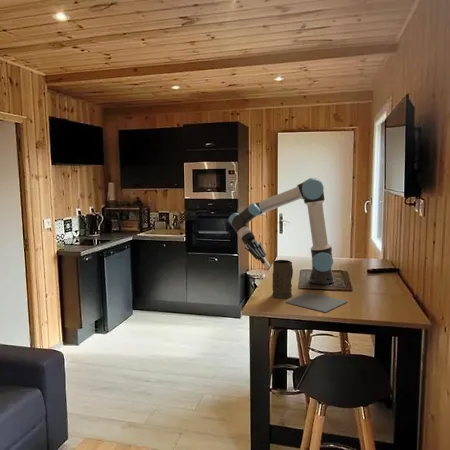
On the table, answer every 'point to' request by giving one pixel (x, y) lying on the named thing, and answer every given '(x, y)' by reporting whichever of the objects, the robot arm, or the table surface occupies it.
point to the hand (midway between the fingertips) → (268, 267)
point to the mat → (316, 302)
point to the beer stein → (282, 279)
